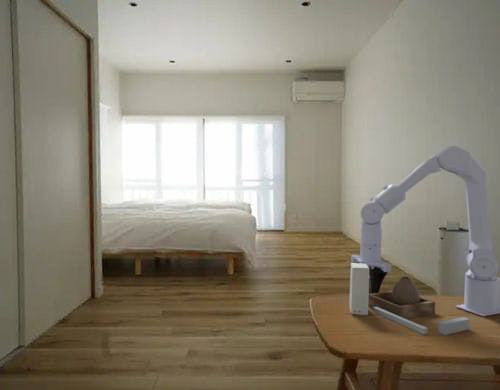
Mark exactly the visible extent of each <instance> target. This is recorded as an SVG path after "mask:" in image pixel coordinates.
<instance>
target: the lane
mask: <svg viewBox="0 0 500 390" xmlns="http://www.w3.org/2000/svg"><path fill="white" fill-rule="evenodd" d="M372 312H373V313H374V314H377V315H378V316H382V317H384V318H386V319H389V320H390V321H393V322H394V323H397V324H399V325H402V326H404V327H406V328H409V329H410V330H413V331H415V332H417V333H419V334H422V335H427V334H428V327H427V326H423V325H421V324H418V323H417V322H414V321H411V320H409V319H408V318H407V319H405V318H402V317H400V316H398V315H395V314H393V313H390V312H388V311H386V310H383V309H381V308H379V307H373V308H372ZM469 330H470V318H467V317H464V316H462V317H455V318H450V319H447V320H446V319H445V320H441V321H438V333H440V334H441V335H443V336H446V335H450V334H455V333H459V332H464V331H469Z"/></svg>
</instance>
